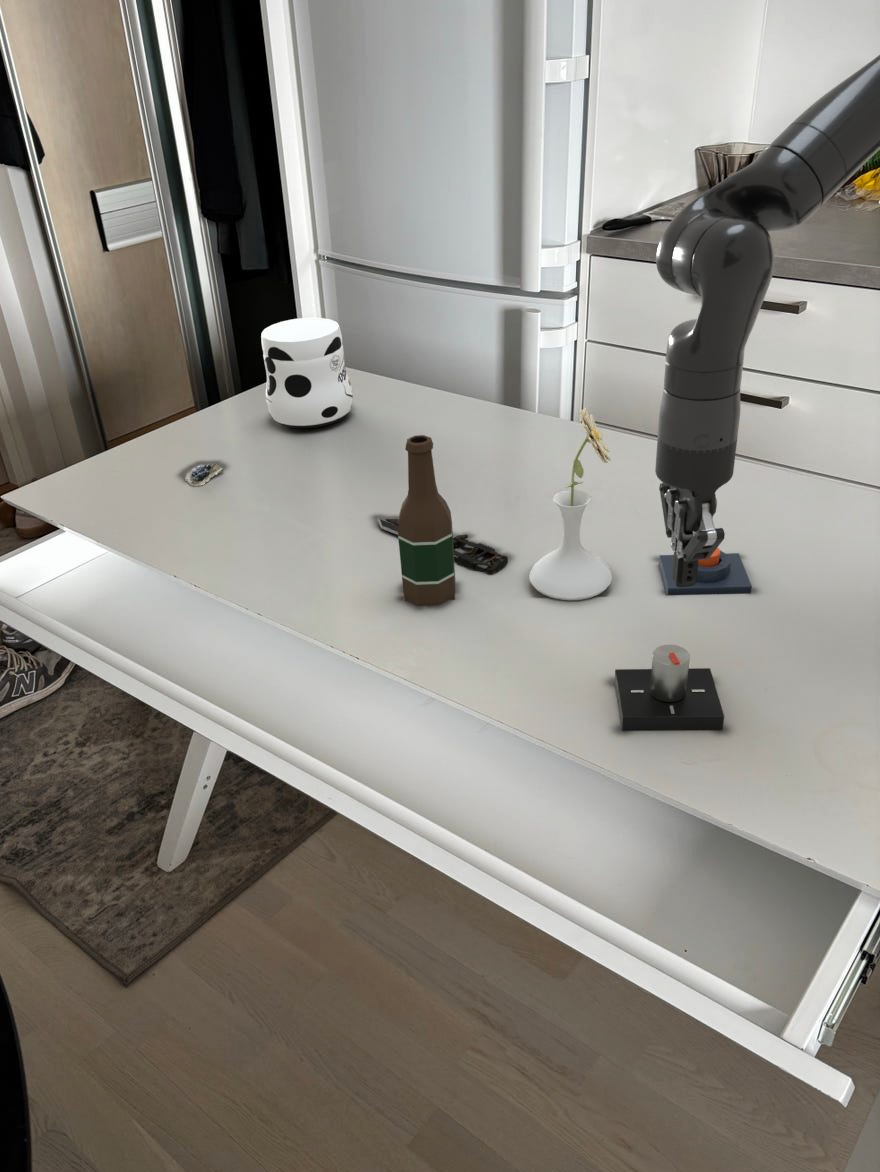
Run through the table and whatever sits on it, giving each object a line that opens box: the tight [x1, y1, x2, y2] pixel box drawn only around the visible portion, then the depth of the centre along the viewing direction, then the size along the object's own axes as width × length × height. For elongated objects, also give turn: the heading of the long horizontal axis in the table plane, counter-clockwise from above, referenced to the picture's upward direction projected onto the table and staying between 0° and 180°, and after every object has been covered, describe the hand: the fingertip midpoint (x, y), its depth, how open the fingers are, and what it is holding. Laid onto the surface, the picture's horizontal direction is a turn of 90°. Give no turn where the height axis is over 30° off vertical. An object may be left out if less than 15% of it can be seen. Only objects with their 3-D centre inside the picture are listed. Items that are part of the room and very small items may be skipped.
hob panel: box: [614, 667, 725, 732], centre depth 113 cm, size 11×9×3 cm
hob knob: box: [650, 644, 691, 702], centre depth 111 cm, size 4×4×6 cm
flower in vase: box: [529, 407, 613, 601], centre depth 131 cm, size 13×11×25 cm
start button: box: [698, 546, 721, 567], centre depth 134 cm, size 4×4×2 cm
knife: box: [377, 518, 509, 574], centre depth 151 cm, size 25×6×1 cm, turn 41°
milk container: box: [260, 317, 354, 429], centre depth 193 cm, size 17×17×18 cm
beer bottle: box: [397, 434, 456, 607], centre depth 132 cm, size 8×8×24 cm
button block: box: [658, 549, 753, 596], centre depth 135 cm, size 11×9×4 cm
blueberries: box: [184, 463, 224, 487], centre depth 178 cm, size 7×8×2 cm
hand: (683, 583), depth 105 cm, fingers closed
